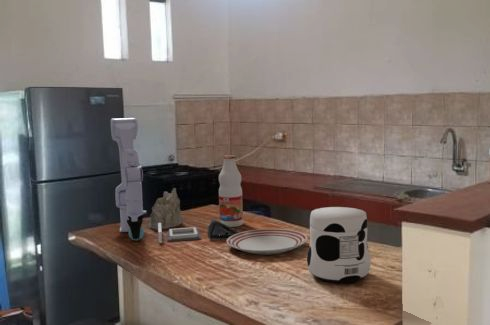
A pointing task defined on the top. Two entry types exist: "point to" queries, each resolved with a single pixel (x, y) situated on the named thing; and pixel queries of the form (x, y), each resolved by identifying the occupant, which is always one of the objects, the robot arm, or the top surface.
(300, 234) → the dinner plate
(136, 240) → the ball
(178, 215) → the jagged rock
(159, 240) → the wall
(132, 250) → the top surface
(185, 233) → the mat
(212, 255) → the top surface
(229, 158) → the fruit juice
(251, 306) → the top surface
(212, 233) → the chocolate cake
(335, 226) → the milk container
